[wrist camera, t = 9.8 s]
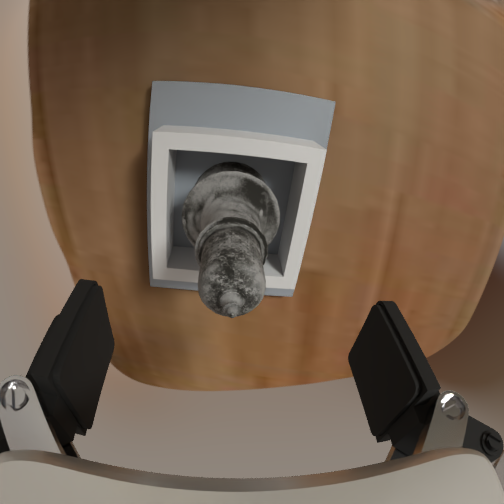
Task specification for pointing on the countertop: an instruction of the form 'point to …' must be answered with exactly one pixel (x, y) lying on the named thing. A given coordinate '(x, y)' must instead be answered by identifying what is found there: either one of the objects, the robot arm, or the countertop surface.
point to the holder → (232, 150)
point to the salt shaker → (231, 235)
